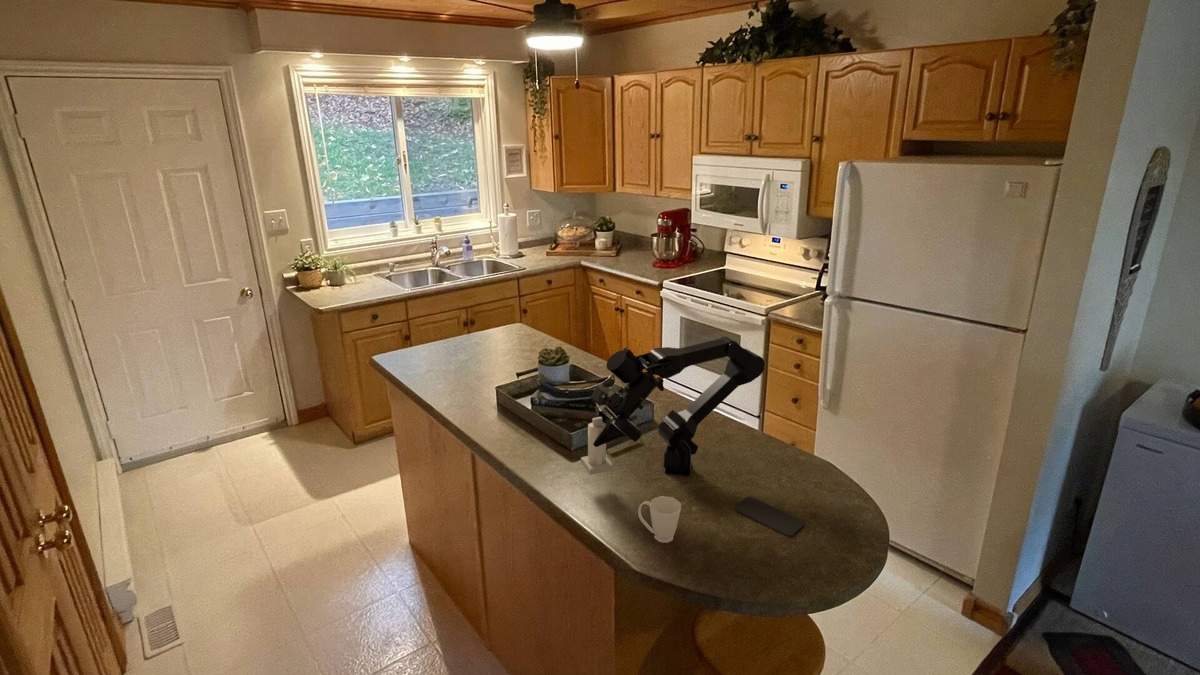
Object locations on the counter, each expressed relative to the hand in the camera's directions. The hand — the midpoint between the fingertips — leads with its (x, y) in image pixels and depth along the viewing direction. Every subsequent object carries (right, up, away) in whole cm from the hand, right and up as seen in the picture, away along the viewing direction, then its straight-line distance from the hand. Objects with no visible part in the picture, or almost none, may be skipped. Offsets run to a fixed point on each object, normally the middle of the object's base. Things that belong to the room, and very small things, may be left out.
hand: (591, 442), depth 151 cm
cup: (+15, -18, -13) cm, 27 cm away
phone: (+41, -17, -6) cm, 44 cm away
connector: (+1, -6, +3) cm, 7 cm away
